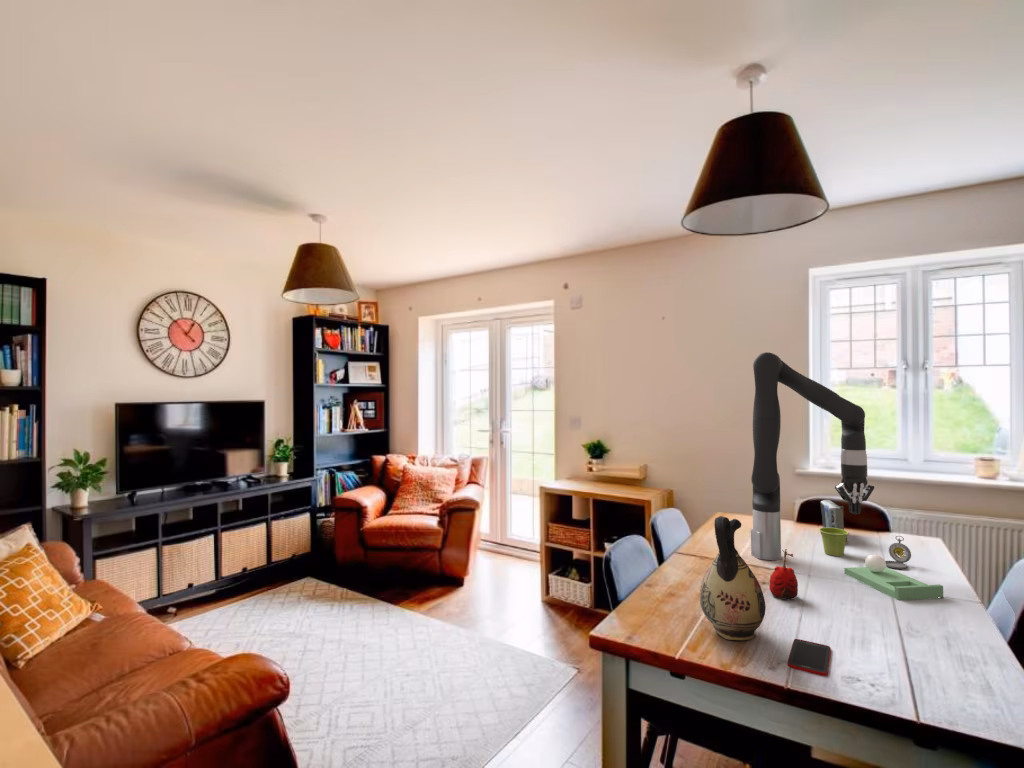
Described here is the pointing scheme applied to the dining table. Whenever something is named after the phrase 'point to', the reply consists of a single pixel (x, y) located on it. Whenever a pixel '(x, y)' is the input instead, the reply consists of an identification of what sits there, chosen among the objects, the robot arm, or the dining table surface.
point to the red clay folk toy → (784, 581)
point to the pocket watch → (899, 550)
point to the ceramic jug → (731, 588)
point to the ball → (875, 563)
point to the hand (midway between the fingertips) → (855, 513)
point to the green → (895, 583)
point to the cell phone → (809, 657)
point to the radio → (832, 515)
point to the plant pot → (834, 540)
